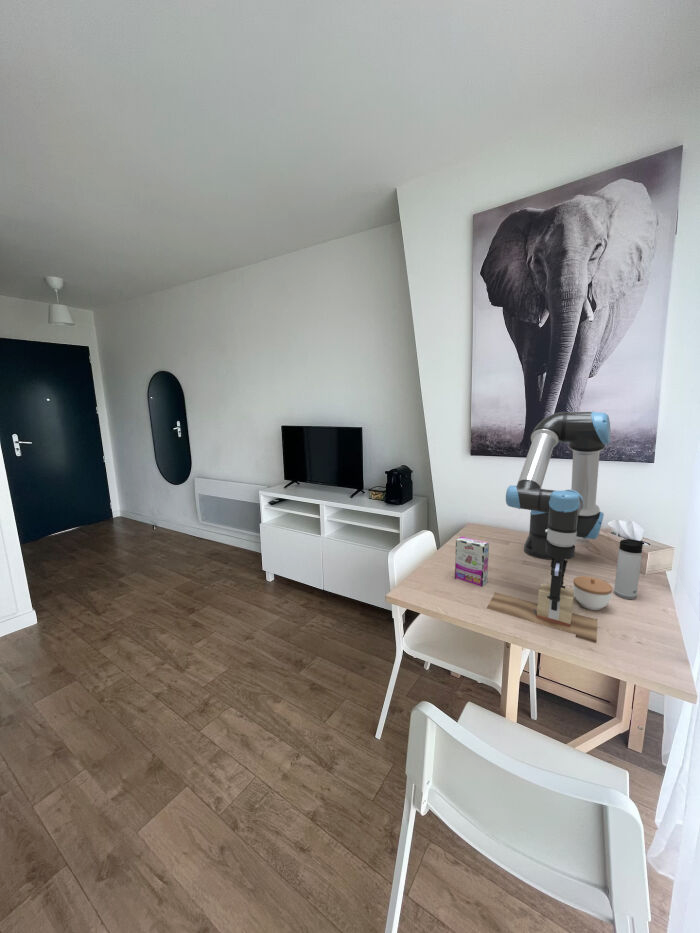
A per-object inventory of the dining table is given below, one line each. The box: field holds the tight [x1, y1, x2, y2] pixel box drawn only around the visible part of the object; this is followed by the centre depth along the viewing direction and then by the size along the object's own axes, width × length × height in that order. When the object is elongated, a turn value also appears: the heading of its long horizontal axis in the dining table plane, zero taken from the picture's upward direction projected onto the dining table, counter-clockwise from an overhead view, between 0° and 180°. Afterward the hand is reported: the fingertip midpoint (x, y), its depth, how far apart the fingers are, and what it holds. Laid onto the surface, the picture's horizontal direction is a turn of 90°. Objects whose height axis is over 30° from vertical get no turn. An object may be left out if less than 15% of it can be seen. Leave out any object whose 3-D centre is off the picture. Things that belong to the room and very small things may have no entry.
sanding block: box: [537, 582, 575, 627], centre depth 112 cm, size 6×9×9 cm, turn 55°
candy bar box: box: [454, 536, 490, 587], centre depth 137 cm, size 11×5×16 cm, turn 47°
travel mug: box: [613, 538, 645, 600], centre depth 125 cm, size 6×7×20 cm
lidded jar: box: [572, 575, 613, 611], centre depth 120 cm, size 11×11×9 cm
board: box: [486, 592, 598, 644], centre depth 115 cm, size 12×30×1 cm, turn 55°
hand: (554, 613), depth 112 cm, fingers closed on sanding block, 6 cm apart
